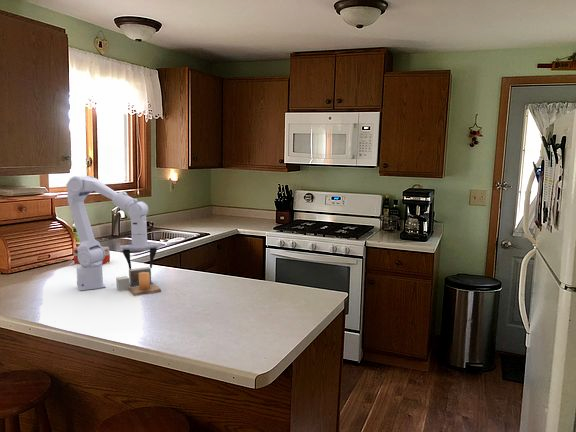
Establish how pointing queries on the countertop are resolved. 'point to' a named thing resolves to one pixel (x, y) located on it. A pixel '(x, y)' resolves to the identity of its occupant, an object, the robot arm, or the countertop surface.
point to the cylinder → (144, 281)
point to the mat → (137, 291)
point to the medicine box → (106, 249)
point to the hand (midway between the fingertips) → (140, 268)
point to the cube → (122, 283)
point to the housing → (137, 276)
